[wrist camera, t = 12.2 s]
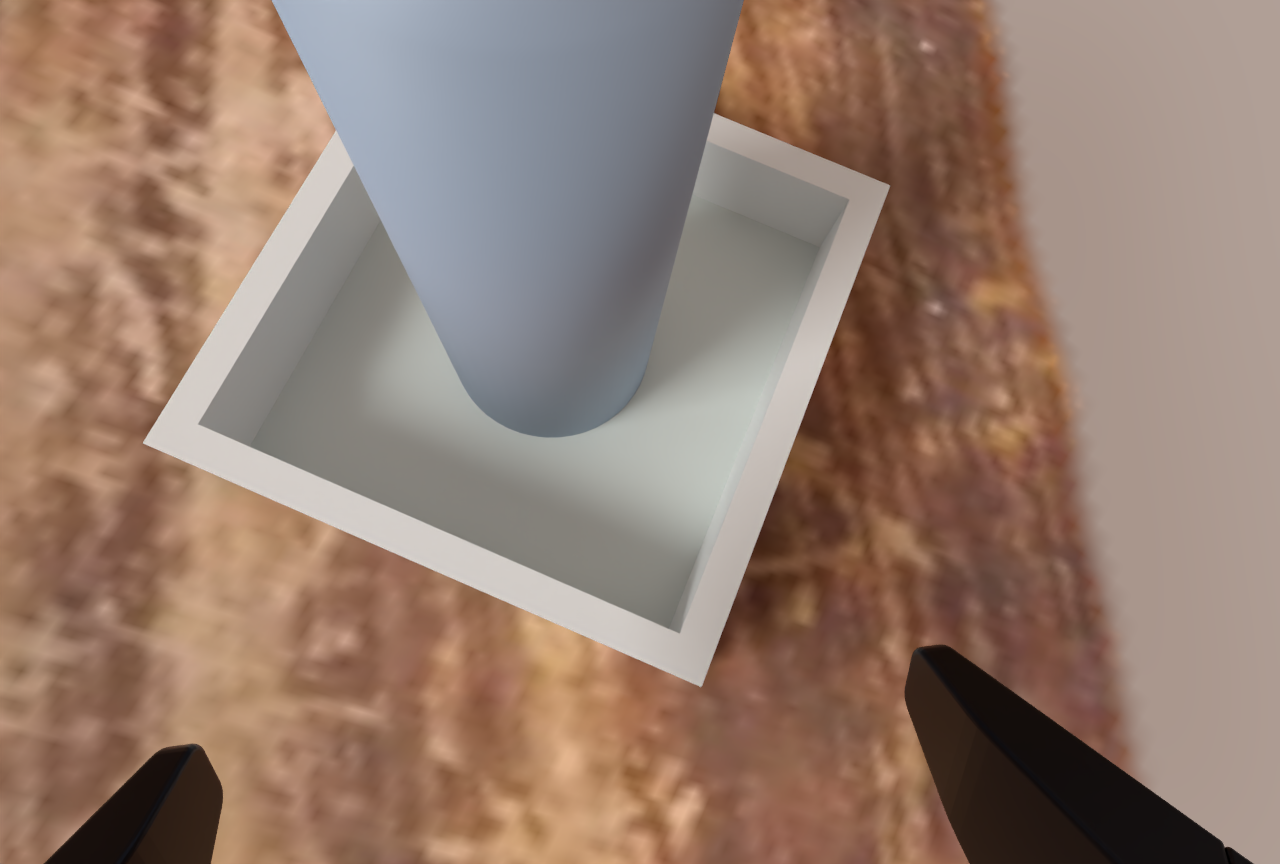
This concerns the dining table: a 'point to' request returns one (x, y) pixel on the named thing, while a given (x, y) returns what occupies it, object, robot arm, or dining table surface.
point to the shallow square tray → (529, 465)
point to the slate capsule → (527, 175)
